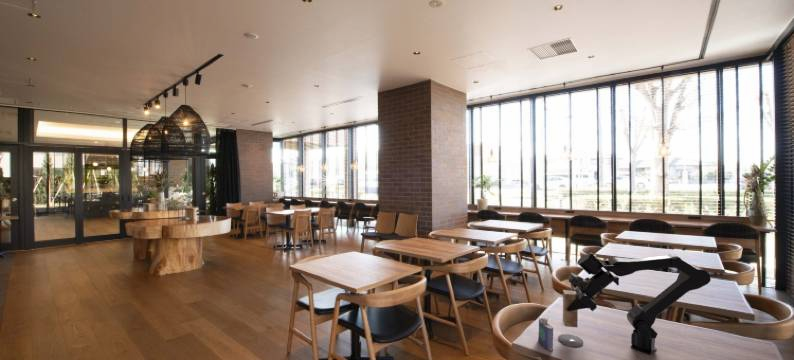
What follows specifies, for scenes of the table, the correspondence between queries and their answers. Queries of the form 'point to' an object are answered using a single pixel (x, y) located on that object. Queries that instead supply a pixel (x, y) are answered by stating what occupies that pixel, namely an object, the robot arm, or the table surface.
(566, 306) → the walnut block
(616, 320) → the table surface
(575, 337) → the slate coaster
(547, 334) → the flask
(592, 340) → the table surface
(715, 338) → the table surface
